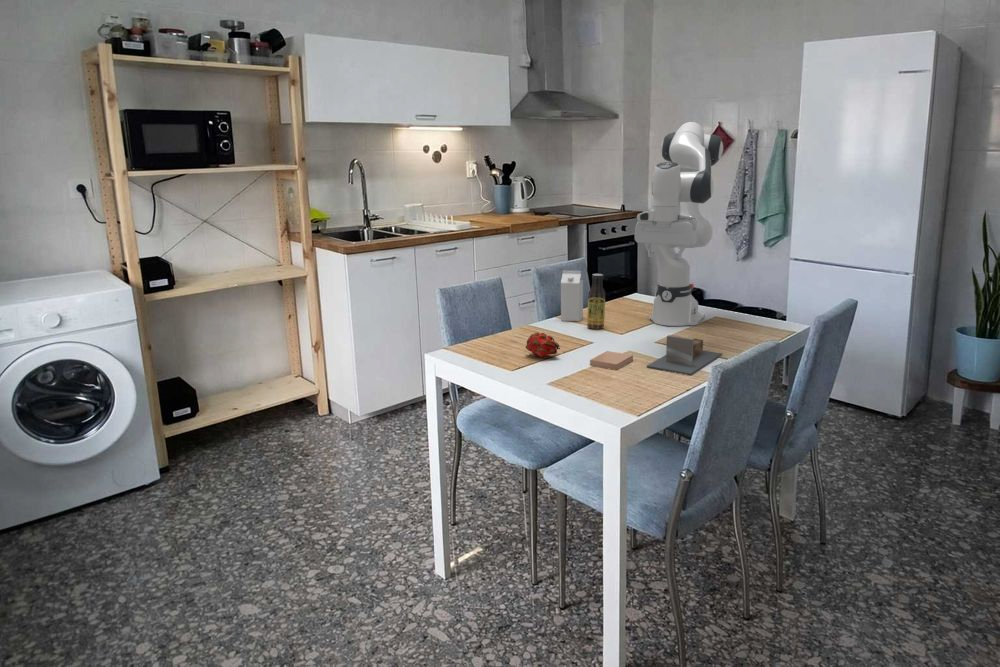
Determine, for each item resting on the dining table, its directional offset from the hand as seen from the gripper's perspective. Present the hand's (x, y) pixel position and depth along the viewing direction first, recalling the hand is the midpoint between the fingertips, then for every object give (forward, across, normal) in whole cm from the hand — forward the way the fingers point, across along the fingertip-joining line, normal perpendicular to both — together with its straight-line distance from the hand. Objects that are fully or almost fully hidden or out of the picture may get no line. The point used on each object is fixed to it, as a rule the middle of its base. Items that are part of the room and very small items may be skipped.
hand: (664, 258), depth 227 cm
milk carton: (+29, +44, -14) cm, 55 cm away
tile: (+28, +4, +21) cm, 35 cm away
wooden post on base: (+28, -14, +10) cm, 33 cm away
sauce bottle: (+29, +30, -8) cm, 43 cm away
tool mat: (+29, -14, +13) cm, 35 cm away
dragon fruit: (+29, +26, +32) cm, 51 cm away
